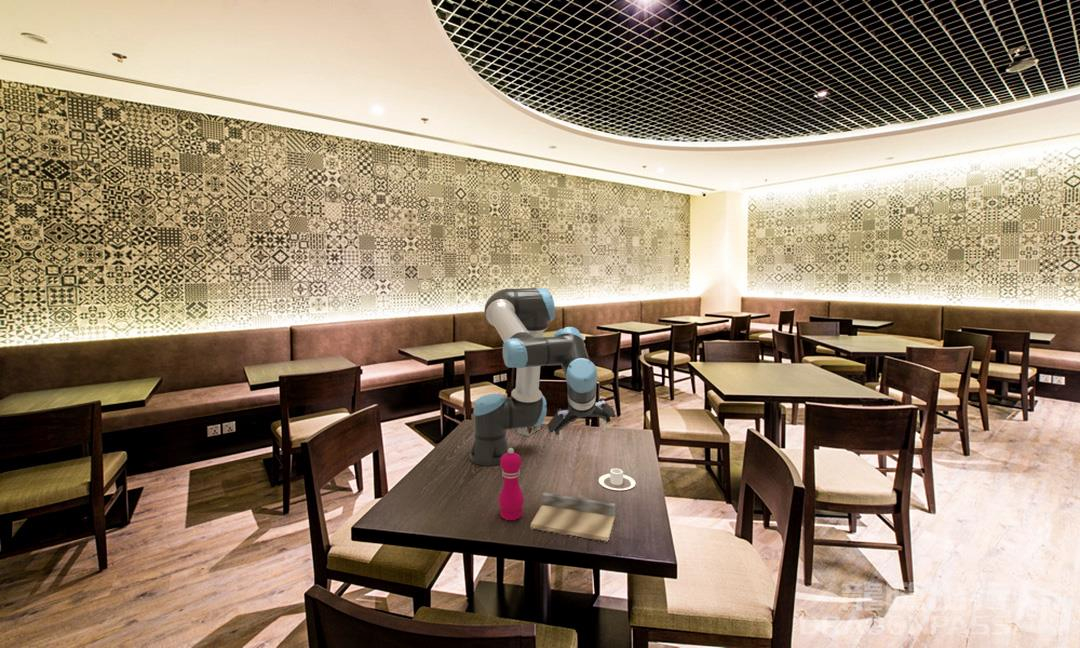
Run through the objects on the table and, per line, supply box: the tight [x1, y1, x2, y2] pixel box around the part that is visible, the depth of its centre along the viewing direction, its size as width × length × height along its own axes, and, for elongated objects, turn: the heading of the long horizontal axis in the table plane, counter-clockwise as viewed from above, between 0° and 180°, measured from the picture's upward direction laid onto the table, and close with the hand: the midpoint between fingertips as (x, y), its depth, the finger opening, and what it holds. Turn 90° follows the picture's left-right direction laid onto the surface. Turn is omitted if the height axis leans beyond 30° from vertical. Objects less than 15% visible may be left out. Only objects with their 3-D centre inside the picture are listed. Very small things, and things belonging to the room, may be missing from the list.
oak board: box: [530, 492, 616, 541], centre depth 123 cm, size 21×12×4 cm, turn 72°
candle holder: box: [598, 468, 637, 491], centre depth 147 cm, size 12×12×4 cm
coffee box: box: [516, 425, 541, 437], centre depth 194 cm, size 9×6×16 cm
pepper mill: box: [498, 447, 525, 521], centre depth 127 cm, size 7×7×20 cm
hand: (581, 431), depth 139 cm, fingers open, 13 cm apart
